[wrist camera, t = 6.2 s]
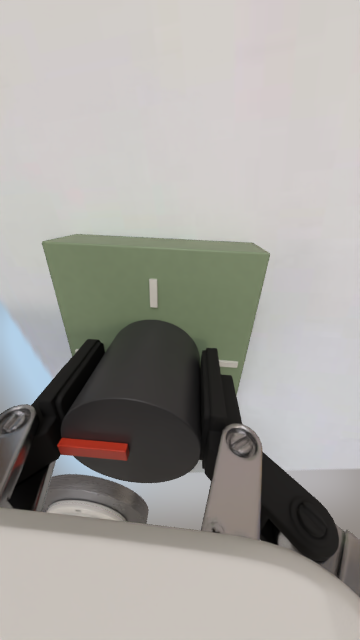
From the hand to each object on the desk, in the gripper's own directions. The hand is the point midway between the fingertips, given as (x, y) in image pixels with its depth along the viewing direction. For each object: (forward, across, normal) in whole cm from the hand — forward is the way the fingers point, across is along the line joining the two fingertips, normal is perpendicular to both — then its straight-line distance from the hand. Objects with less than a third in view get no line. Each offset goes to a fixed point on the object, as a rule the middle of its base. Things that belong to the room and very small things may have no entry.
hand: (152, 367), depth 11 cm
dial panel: (+4, 0, 0) cm, 4 cm away
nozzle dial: (+1, 0, 0) cm, 1 cm away
